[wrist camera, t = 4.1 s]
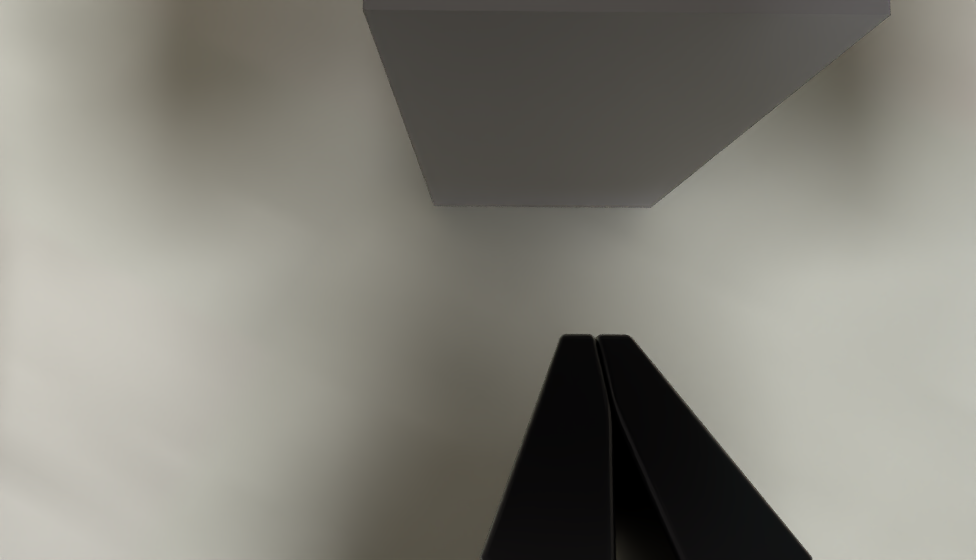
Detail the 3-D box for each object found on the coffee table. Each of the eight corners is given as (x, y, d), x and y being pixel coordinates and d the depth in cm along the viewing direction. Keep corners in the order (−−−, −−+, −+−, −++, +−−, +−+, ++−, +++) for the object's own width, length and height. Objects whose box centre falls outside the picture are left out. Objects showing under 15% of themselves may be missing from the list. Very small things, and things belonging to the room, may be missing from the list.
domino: (650, 207, 17) (890, 14, 7) (434, 205, 17) (363, 9, 7) (649, 139, 17) (884, -146, 7) (435, 137, 17) (366, -151, 7)
